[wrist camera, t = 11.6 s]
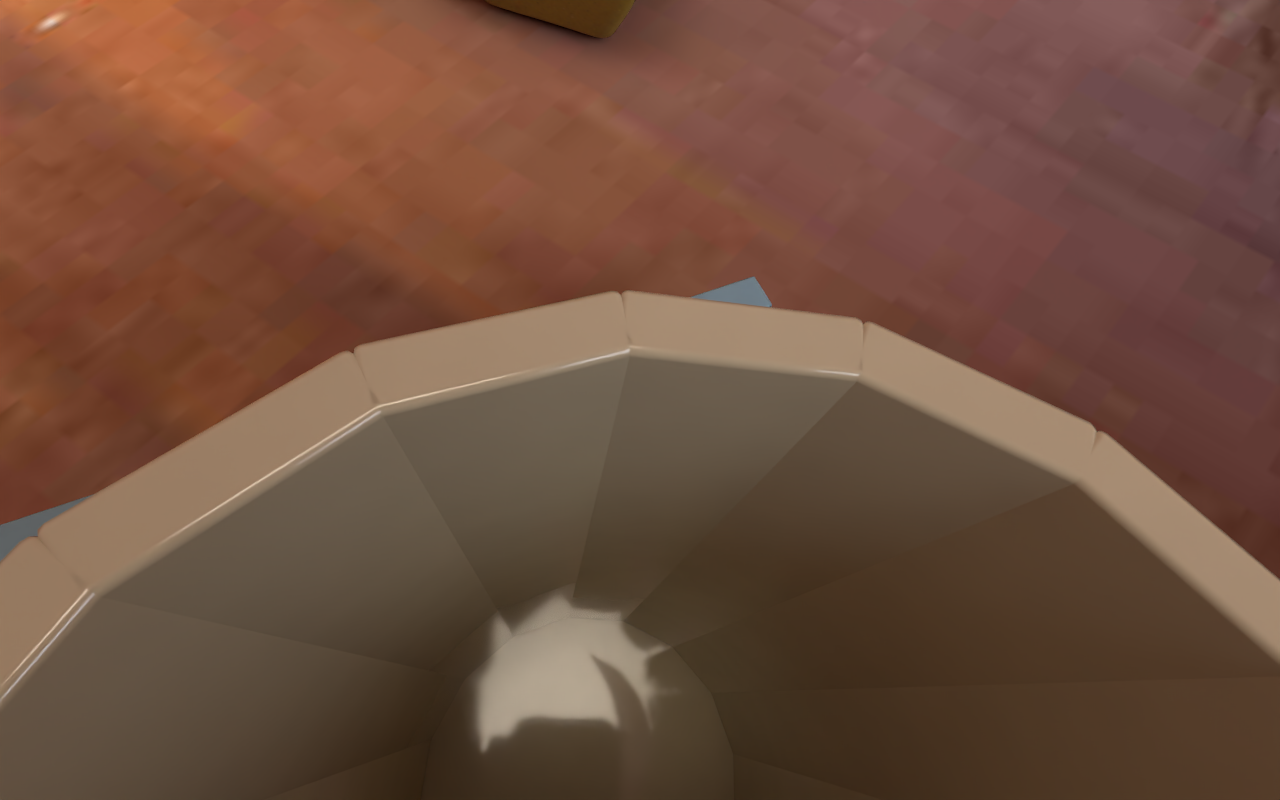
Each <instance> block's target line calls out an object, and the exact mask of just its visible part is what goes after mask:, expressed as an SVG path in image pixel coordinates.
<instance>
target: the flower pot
mask: <svg viewBox="0 0 1280 800" xmlns="http://www.w3.org/2000/svg"><path fill="white" fill-rule="evenodd" d="M485 1H486V2H487V3H489V4H491V5H494V6H497V7H500V8H503V9H506V10H510V11H513V12H516V13H519V14H523V15H526V16H530V17H533V18H537V19H540V20H543V21H547V22H550V23H553V24H556V25H559V26H563V27H566V28H569V29H572V30H575V31H578V32H581V33H584V34H587V35H591V36H594V37H598V38H606V37H609V36H611V35H612V34H613V33H614V32H615V31H616V30H617V28H618V27H619V25H620V24H621V23H622V21H623V20H624V18H625V17H626V15H627V14H628V12H629V11H630V9H631V7H632V5H633V4H634V2H635V0H485Z"/></svg>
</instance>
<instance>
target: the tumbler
mask: <svg viewBox="0 0 1280 800" xmlns="http://www.w3.org/2000/svg"><path fill="white" fill-rule="evenodd" d="M0 800H1280V579H1279V578H1278V577H1276V576H1275V575H1274V574H1273V573H1272V572H1270V571H1269V570H1268V569H1267V568H1266V567H1265V566H1263V565H1262V564H1261V563H1260V562H1259V561H1257V560H1256V559H1255V558H1254V557H1253V556H1252V555H1250V554H1249V553H1248V552H1247V551H1246V550H1244V549H1243V548H1242V547H1241V546H1240V545H1238V544H1237V543H1236V542H1235V541H1234V540H1233V539H1231V538H1230V537H1229V536H1228V535H1227V534H1225V533H1224V532H1223V531H1222V530H1221V529H1220V528H1218V527H1217V526H1216V525H1215V524H1214V523H1212V522H1211V521H1210V520H1209V519H1208V518H1207V517H1205V516H1204V515H1203V514H1202V513H1201V512H1199V511H1198V510H1197V509H1196V508H1195V507H1194V506H1192V505H1191V504H1190V503H1189V502H1188V501H1186V500H1185V499H1184V498H1183V497H1182V496H1180V495H1179V494H1178V493H1177V492H1176V491H1175V490H1173V489H1172V488H1171V487H1170V486H1169V485H1167V484H1166V483H1165V482H1164V481H1163V480H1162V479H1160V478H1159V477H1158V476H1157V475H1156V474H1154V473H1153V472H1152V471H1151V470H1150V469H1149V468H1147V467H1146V466H1145V465H1144V464H1143V463H1141V462H1140V461H1139V460H1138V459H1137V458H1136V457H1134V456H1133V455H1132V454H1131V453H1130V452H1128V451H1127V450H1126V449H1125V448H1124V447H1122V446H1121V445H1120V444H1119V443H1118V442H1117V441H1115V440H1114V439H1113V438H1112V437H1111V436H1109V435H1108V434H1107V433H1105V432H1103V431H1096V428H1095V426H1094V425H1092V424H1091V423H1090V422H1088V421H1085V420H1083V419H1081V418H1079V417H1077V416H1075V415H1072V414H1070V413H1068V412H1066V411H1064V410H1062V409H1059V408H1057V407H1055V406H1053V405H1051V404H1049V403H1046V402H1044V401H1042V400H1040V399H1038V398H1036V397H1033V396H1031V395H1029V394H1027V393H1025V392H1023V391H1020V390H1018V389H1016V388H1014V387H1012V386H1009V385H1007V384H1005V383H1003V382H1001V381H999V380H996V379H994V378H992V377H990V376H988V375H986V374H983V373H981V372H979V371H977V370H975V369H973V368H970V367H968V366H966V365H964V364H962V363H960V362H957V361H955V360H953V359H951V358H949V357H947V356H944V355H942V354H940V353H938V352H936V351H934V350H931V349H929V348H927V347H925V346H923V345H921V344H918V343H916V342H914V341H912V340H910V339H908V338H905V337H903V336H901V335H899V334H897V333H895V332H892V331H890V330H888V329H886V328H884V327H882V326H879V325H877V324H875V323H873V322H865V323H862V321H861V320H860V319H858V318H855V317H847V316H839V315H830V314H822V313H814V312H806V311H797V310H789V309H781V308H772V307H764V306H756V305H748V304H739V303H731V302H723V301H714V300H706V299H698V298H690V297H681V296H673V295H665V294H657V293H648V292H640V291H632V290H627V291H623V292H622V294H621V295H620V294H619V293H618V292H617V291H609V292H604V293H599V294H595V295H590V296H585V297H580V298H576V299H571V300H566V301H562V302H557V303H552V304H548V305H543V306H538V307H534V308H529V309H524V310H520V311H515V312H510V313H506V314H501V315H496V316H492V317H487V318H482V319H478V320H473V321H468V322H463V323H459V324H454V325H449V326H445V327H440V328H435V329H431V330H426V331H421V332H417V333H412V334H407V335H403V336H398V337H393V338H389V339H384V340H379V341H375V342H370V343H365V344H361V345H359V346H357V347H355V348H354V353H351V352H349V351H344V352H340V353H338V354H337V355H335V356H333V357H331V358H330V359H328V360H326V361H325V362H323V363H321V364H319V365H318V366H316V367H314V368H312V369H311V370H309V371H307V372H305V373H304V374H302V375H300V376H299V377H297V378H295V379H293V380H292V381H290V382H288V383H286V384H285V385H283V386H281V387H279V388H278V389H276V390H274V391H273V392H271V393H269V394H267V395H266V396H264V397H262V398H260V399H259V400H257V401H255V402H253V403H252V404H250V405H248V406H246V407H245V408H243V409H241V410H240V411H238V412H236V413H234V414H233V415H231V416H229V417H227V418H226V419H224V420H222V421H220V422H219V423H217V424H215V425H214V426H212V427H210V428H208V429H207V430H205V431H203V432H201V433H200V434H198V435H196V436H194V437H193V438H191V439H189V440H188V441H186V442H184V443H182V444H181V445H179V446H177V447H175V448H174V449H172V450H170V451H168V452H167V453H165V454H163V455H162V456H160V457H158V458H156V459H155V460H153V461H151V462H149V463H148V464H146V465H144V466H142V467H141V468H139V469H137V470H136V471H134V472H132V473H130V474H129V475H127V476H125V477H123V478H122V479H120V480H118V481H116V482H115V483H113V484H111V485H109V486H108V487H106V488H104V489H103V490H101V491H99V492H97V493H96V494H94V495H92V496H90V497H89V498H87V499H85V500H83V501H82V502H80V503H78V504H77V505H75V506H73V507H71V508H70V509H68V510H66V511H64V512H63V513H61V514H59V515H57V516H56V517H54V518H52V519H51V520H49V521H47V522H45V523H44V524H43V525H42V526H41V527H40V528H39V529H38V536H31V537H27V538H25V539H24V540H22V541H20V542H19V543H18V544H17V545H16V546H15V547H14V548H13V549H12V550H11V551H10V552H9V553H8V554H7V555H6V556H5V557H4V558H3V559H2V560H1V561H0Z"/></svg>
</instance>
